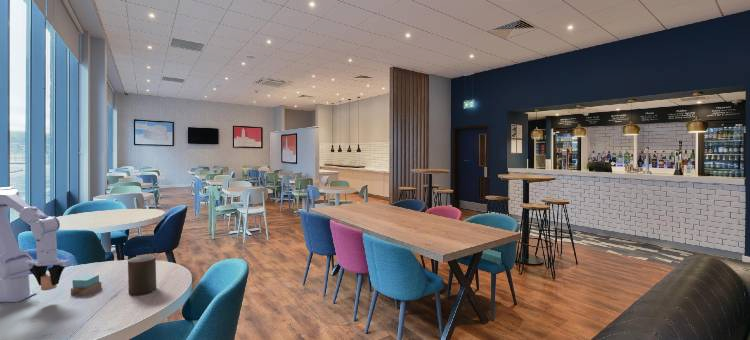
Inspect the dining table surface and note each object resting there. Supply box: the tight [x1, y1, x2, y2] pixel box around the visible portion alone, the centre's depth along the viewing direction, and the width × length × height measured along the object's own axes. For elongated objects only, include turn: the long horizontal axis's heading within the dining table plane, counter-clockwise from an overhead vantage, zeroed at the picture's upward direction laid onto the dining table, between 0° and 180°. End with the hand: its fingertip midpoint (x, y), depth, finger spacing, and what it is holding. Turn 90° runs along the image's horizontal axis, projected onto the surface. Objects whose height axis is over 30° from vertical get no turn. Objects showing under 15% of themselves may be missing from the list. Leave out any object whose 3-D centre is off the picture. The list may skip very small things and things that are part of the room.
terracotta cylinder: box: [40, 273, 58, 291], centre depth 137 cm, size 4×4×5 cm
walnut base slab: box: [70, 281, 103, 296], centre depth 147 cm, size 7×7×3 cm
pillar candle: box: [127, 255, 157, 296], centre depth 147 cm, size 10×10×15 cm
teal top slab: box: [72, 274, 100, 288], centre depth 147 cm, size 6×6×3 cm
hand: (48, 284), depth 137 cm, fingers closed on terracotta cylinder, 4 cm apart
